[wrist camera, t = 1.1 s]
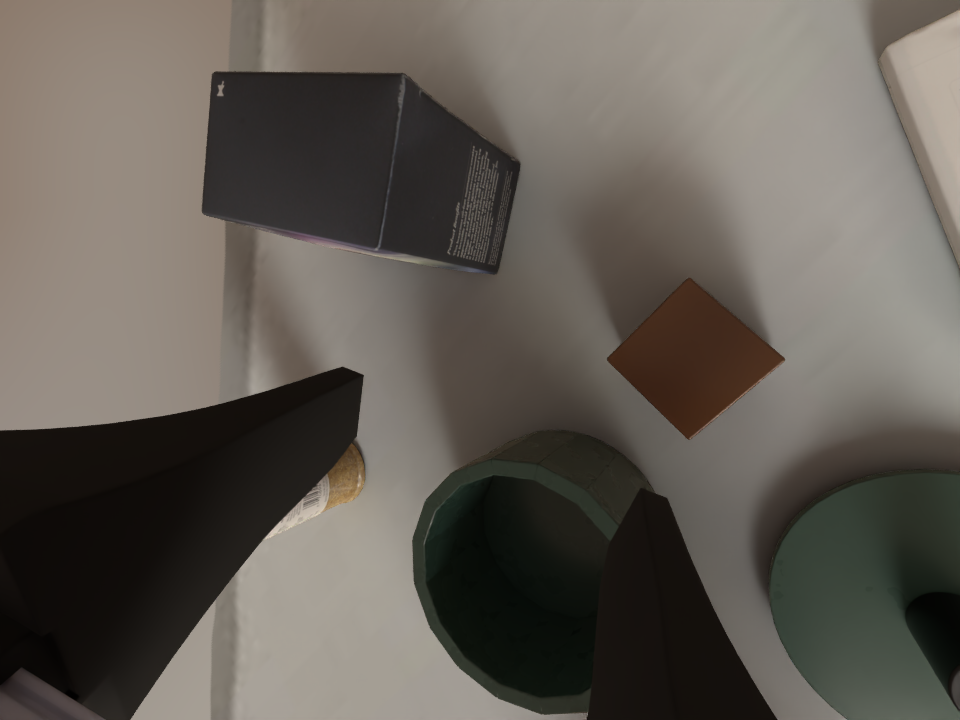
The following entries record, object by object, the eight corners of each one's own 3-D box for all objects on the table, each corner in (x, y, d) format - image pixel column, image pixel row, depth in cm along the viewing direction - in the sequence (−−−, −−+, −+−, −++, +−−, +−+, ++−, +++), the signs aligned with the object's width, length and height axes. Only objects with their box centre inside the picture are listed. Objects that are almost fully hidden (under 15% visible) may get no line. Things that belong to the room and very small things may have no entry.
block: (775, 353, 20) (786, 360, 16) (695, 420, 22) (688, 441, 18) (695, 285, 22) (688, 276, 18) (625, 353, 23) (605, 359, 19)
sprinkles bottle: (318, 430, 33) (89, 489, 21) (369, 441, 31) (147, 512, 19) (318, 494, 34) (92, 586, 22) (368, 508, 31) (149, 619, 20)
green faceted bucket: (719, 553, 22) (716, 634, 16) (566, 659, 26) (520, 756, 20) (562, 389, 25) (512, 408, 19) (446, 506, 29) (375, 551, 23)
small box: (354, 251, 31) (192, 218, 21) (370, 146, 29) (206, 62, 20) (498, 282, 26) (372, 257, 17) (524, 159, 25) (404, 60, 16)
